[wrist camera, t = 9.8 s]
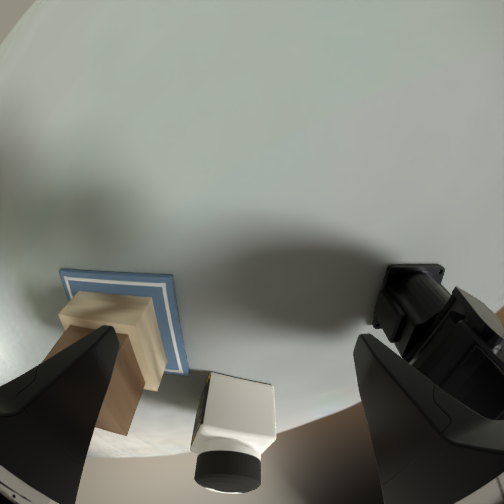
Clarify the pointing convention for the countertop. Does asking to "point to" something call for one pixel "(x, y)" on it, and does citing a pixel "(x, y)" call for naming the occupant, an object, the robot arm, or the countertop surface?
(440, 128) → the countertop surface
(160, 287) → the blueprint board
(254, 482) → the medicine bottle
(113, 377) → the walnut cube
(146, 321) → the maple slab
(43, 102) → the countertop surface
